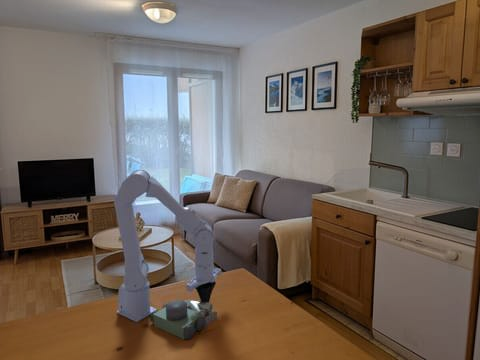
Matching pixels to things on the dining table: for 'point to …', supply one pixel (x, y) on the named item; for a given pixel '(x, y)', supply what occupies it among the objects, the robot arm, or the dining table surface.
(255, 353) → the dining table surface
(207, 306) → the pipe fitting
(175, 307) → the grey-green knobbed block
